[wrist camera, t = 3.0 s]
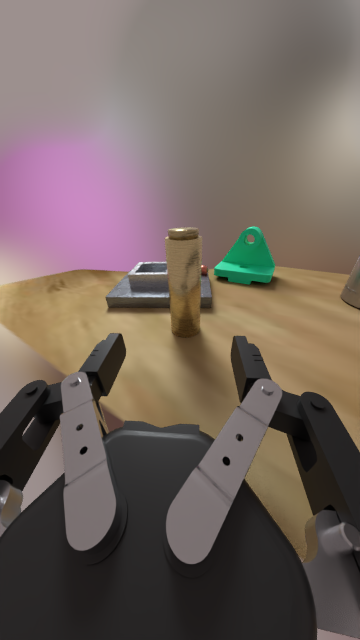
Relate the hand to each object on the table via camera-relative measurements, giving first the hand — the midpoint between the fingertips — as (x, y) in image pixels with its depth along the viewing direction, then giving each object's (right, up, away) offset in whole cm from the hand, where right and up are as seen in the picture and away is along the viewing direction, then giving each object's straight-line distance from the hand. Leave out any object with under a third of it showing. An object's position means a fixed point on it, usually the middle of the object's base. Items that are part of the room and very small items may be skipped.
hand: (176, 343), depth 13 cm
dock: (-3, +8, +24) cm, 25 cm away
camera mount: (+15, +11, +29) cm, 35 cm away
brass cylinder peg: (+1, 0, +13) cm, 13 cm away
